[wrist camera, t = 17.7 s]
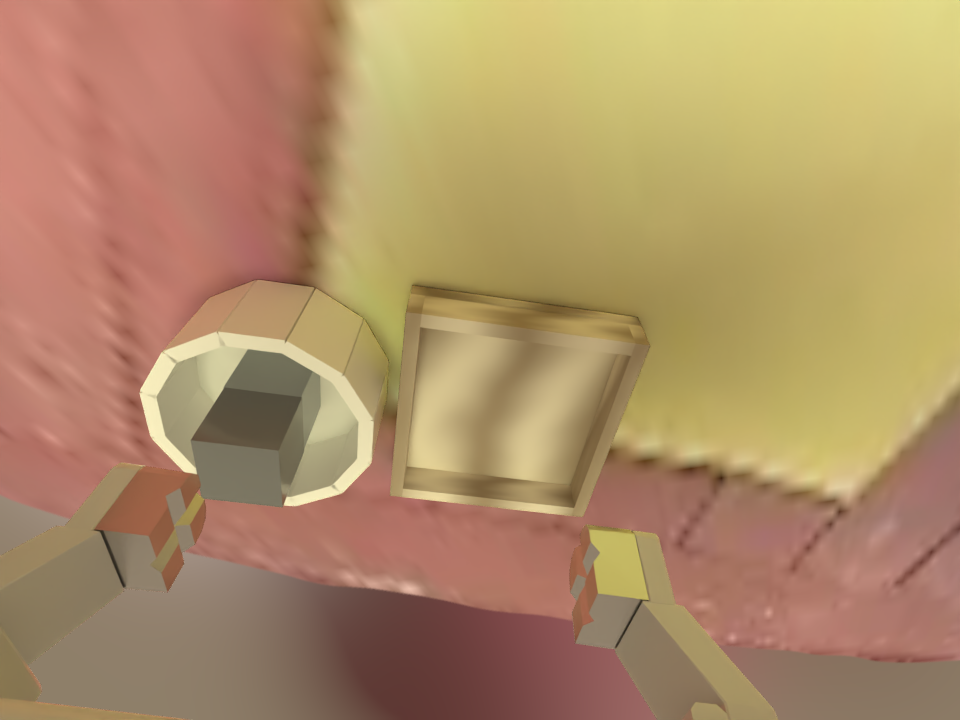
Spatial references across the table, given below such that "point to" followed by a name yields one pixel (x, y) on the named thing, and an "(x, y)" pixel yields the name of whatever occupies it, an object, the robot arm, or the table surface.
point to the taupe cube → (279, 381)
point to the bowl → (300, 336)
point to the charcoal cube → (249, 447)
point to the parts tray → (510, 400)
